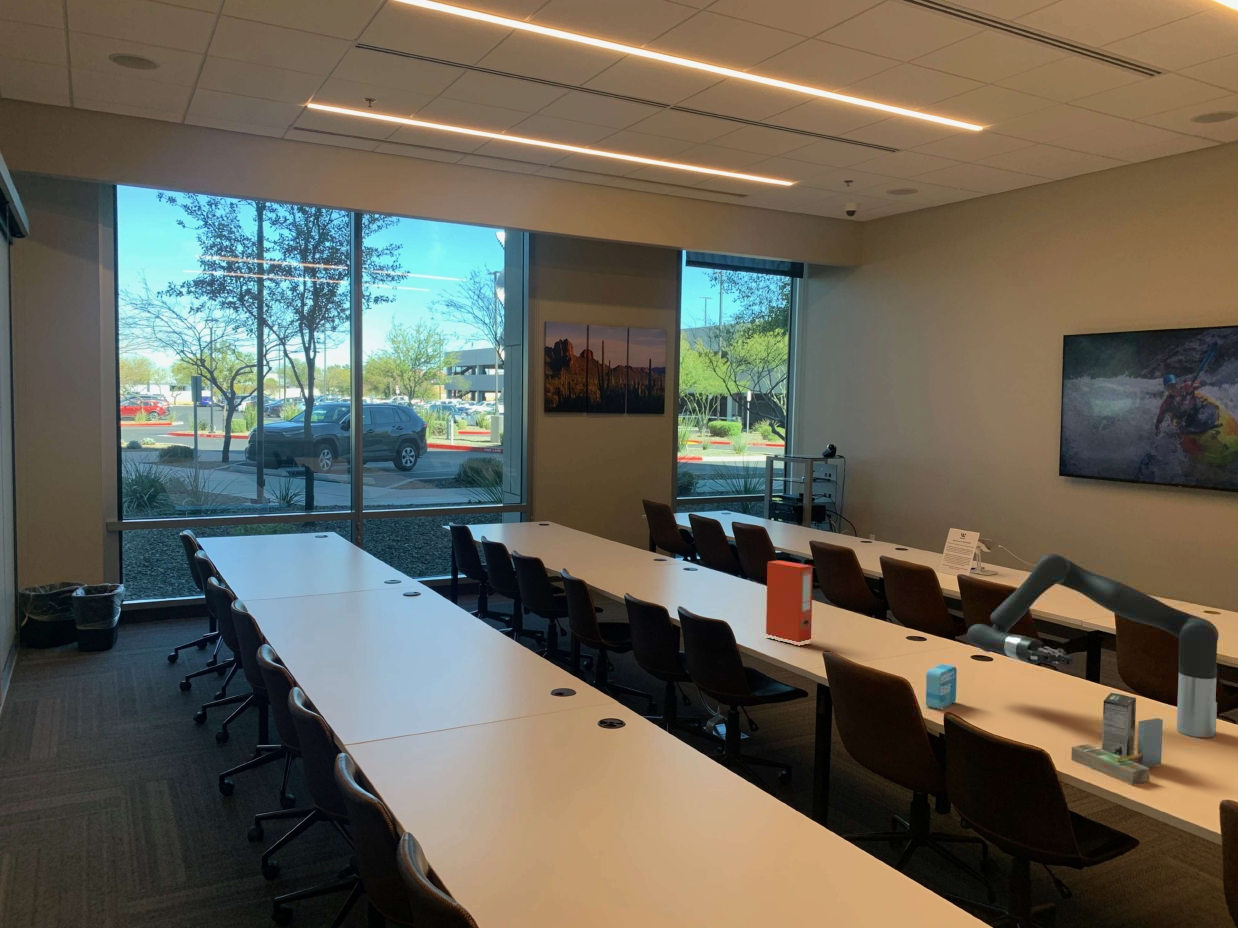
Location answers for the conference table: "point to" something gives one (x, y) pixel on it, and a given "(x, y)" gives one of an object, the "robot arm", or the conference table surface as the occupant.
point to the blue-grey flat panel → (1148, 743)
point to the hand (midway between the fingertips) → (1071, 661)
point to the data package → (941, 686)
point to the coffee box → (1119, 724)
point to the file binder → (789, 600)
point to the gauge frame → (1110, 764)
